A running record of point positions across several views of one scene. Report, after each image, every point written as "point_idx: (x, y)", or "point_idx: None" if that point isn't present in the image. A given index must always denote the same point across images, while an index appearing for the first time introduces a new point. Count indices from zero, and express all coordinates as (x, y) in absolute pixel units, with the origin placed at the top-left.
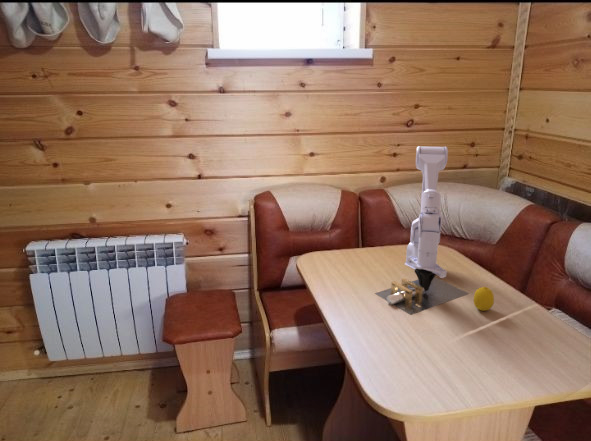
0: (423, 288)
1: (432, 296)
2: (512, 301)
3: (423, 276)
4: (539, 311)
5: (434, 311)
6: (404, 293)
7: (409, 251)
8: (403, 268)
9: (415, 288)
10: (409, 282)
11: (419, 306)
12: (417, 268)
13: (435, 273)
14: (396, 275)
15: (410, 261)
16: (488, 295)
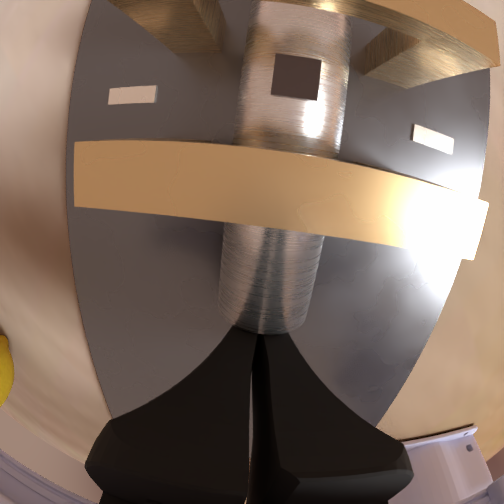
0: (225, 315)
1: (173, 312)
2: (52, 433)
3: (174, 426)
4: (6, 410)
5: (50, 161)
6: (270, 24)
7: (480, 480)
8: (474, 411)
9: (174, 140)
10: (346, 181)
11: (114, 91)
12: (384, 501)
13: (47, 486)
14: (492, 354)
15: (500, 496)
16: None
